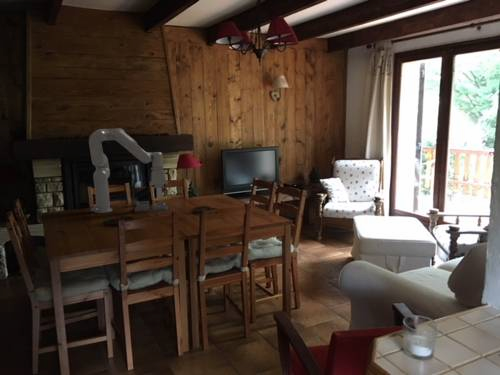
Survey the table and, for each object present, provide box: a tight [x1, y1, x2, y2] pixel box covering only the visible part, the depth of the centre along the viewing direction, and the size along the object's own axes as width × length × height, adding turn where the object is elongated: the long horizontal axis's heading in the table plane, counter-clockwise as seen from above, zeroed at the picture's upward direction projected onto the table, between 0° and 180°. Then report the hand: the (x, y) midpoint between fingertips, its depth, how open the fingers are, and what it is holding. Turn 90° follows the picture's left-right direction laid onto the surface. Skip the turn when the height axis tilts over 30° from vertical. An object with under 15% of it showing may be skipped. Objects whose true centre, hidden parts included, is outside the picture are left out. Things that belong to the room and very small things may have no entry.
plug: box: [156, 184, 163, 199], centre depth 319 cm, size 4×4×9 cm
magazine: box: [134, 185, 153, 206], centre depth 336 cm, size 4×13×15 cm, turn 125°
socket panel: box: [134, 201, 169, 213], centre depth 319 cm, size 24×11×6 cm, turn 103°
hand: (159, 193), depth 319 cm, fingers closed on plug, 4 cm apart
